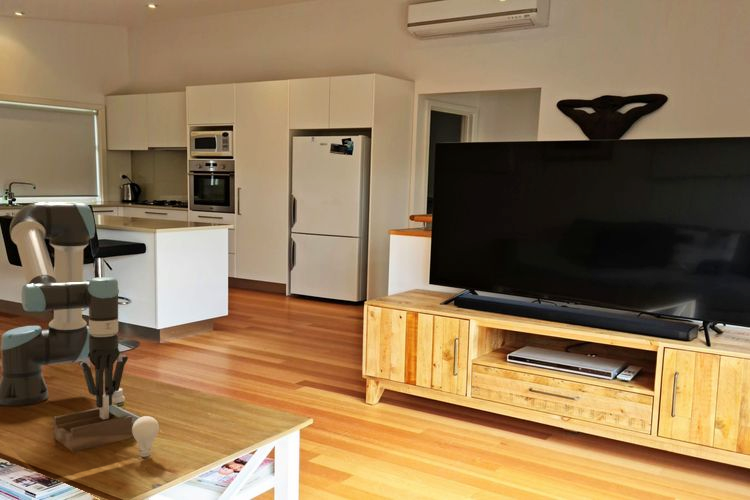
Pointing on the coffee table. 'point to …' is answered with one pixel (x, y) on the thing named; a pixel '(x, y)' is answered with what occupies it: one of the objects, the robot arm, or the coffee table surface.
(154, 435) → the light bulb
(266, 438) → the coffee table surface
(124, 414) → the cover plate
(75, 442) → the walnut box
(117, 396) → the supplement bottle
